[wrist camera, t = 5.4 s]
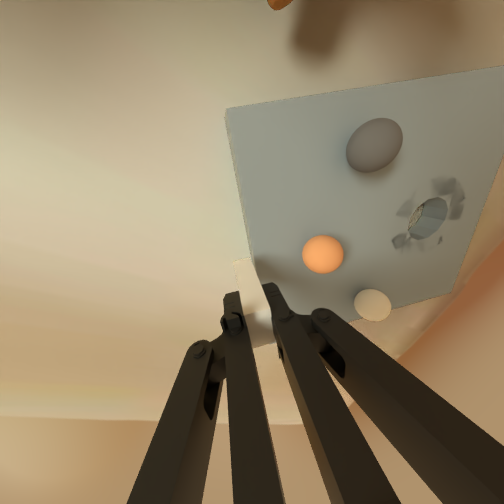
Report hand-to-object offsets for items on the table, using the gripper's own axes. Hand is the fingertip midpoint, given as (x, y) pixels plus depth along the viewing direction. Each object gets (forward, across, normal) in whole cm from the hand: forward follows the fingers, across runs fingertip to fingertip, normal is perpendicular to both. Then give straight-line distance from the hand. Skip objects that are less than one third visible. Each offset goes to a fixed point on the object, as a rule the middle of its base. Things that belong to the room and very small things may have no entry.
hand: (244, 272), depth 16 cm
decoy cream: (0, +13, -8) cm, 15 cm away
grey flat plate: (+4, +14, 0) cm, 15 cm away
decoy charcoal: (0, +11, +8) cm, 14 cm away
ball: (0, +7, 0) cm, 7 cm away
